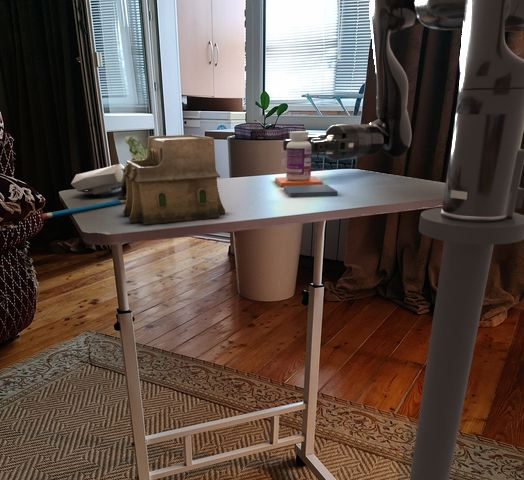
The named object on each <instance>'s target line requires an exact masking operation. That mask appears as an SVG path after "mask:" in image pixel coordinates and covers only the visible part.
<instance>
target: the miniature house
mask: <svg viewBox="0 0 524 480" xmlns="http://www.w3.org/2000/svg"><path fill="white" fill-rule="evenodd" d="M147 148H148V155H147V157H146V158H145V159H144V160H133V161H131V160H126V161H125V163H126V164H125V167H126V171H125V172H124V175H123V176H125V177H126V185H127V196H125V197H126V198H125V200H126V202H125V204H124V209H123V210H122V212H123V216H124V217H128V219H129V223H130V224H139V223H142V224H143V225H144V226H149V225H160V224H168V223H169V224H170V223H177V222H179V223H180V222H188V221H199V220H209V219H219V218H220V215H226V209H225V208H224V206H223V203H222V200H221V197H220V196H221V195H220V192H219V187H218V178H221V175H220V174H219V173H218V171H217V169H216V150H215V138H214V137H211V136H205V135H199V134H198V135H197V134H175V135H174V134H173V135H150V136H148V137H147Z"/></svg>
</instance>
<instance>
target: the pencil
mask: <svg viewBox="0 0 524 480" xmlns="http://www.w3.org/2000/svg"><path fill="white" fill-rule="evenodd" d="M124 203H126V199H116V200H111V201H107V202H101V203H96V204H90V205H84V206H79V207H74V208H68V209H63V210H57V211H53V212H47V213H41V216H40V217H41V219H42V220H47V219H52V218H57V217H61V216H68V215H72V214H77V213H82V212H87V211H93V210H97V209H103V208H108V207H113V206H118V205H122V204H124Z"/></svg>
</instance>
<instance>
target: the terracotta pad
mask: <svg viewBox="0 0 524 480" xmlns="http://www.w3.org/2000/svg"><path fill="white" fill-rule="evenodd" d="M274 182H275V183H276V184H277V185H278V186H279V187H280V188H284V186H298V185H324V182H323V181H322V180H321V179H319V178H317V177H316V176H311V177H310V179H309V180H304V181H292V180H288V179H287V178H286V176H285V177H282V176H281V177H275V179H274Z"/></svg>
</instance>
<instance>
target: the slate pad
mask: <svg viewBox="0 0 524 480" xmlns="http://www.w3.org/2000/svg"><path fill="white" fill-rule="evenodd" d="M283 191H284V192H285V193H286V194H287V195H288V196H289V197H290V198H304V197H305V198H306V197H308V198H309V197H334V196H335V197H336V196H338V190H336V189H335V188H333V187H332V186H330V185H329V184H323V185H298V186H284V187H283Z"/></svg>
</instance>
